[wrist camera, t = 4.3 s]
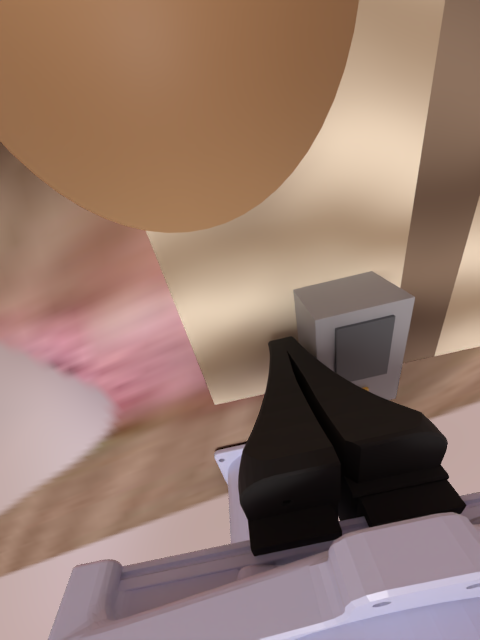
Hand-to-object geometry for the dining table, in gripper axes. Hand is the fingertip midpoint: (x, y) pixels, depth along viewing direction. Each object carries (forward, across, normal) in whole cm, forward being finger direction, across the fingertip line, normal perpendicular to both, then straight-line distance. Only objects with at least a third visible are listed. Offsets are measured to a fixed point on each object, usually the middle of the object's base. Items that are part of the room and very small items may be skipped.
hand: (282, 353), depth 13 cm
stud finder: (+1, -3, 0) cm, 3 cm away
